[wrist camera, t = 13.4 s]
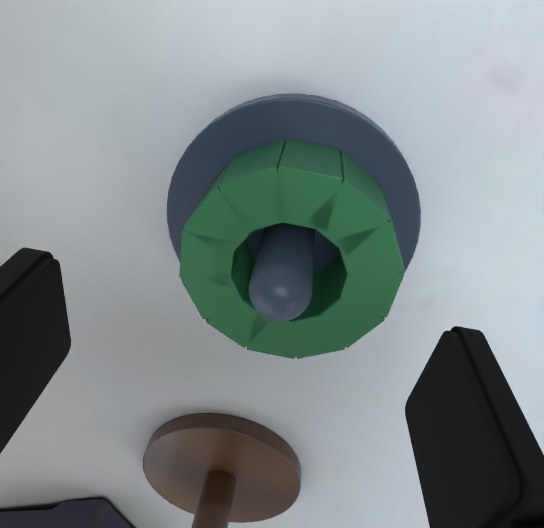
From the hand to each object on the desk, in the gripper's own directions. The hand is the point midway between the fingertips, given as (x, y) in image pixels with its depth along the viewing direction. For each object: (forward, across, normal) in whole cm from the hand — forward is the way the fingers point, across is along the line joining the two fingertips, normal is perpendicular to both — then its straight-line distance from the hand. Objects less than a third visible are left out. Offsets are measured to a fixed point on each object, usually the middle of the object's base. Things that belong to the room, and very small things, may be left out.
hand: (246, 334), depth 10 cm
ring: (+7, -1, +1) cm, 7 cm away
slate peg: (+8, -1, +1) cm, 8 cm away
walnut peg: (+7, 0, +19) cm, 20 cm away
